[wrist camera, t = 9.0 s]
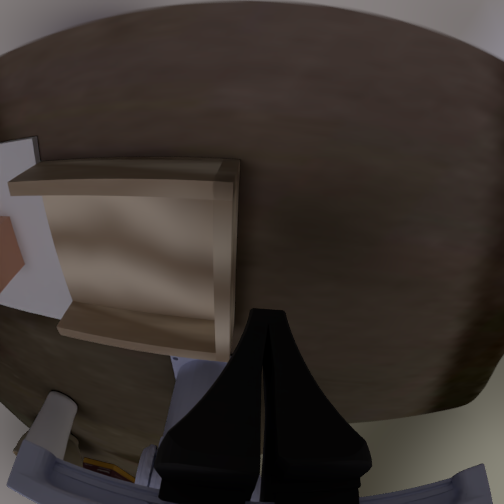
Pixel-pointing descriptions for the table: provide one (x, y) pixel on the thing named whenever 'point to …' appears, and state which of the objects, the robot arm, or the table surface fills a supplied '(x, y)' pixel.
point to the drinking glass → (53, 424)
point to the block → (8, 253)
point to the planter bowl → (71, 451)
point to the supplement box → (107, 470)
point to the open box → (144, 249)
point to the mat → (30, 239)
